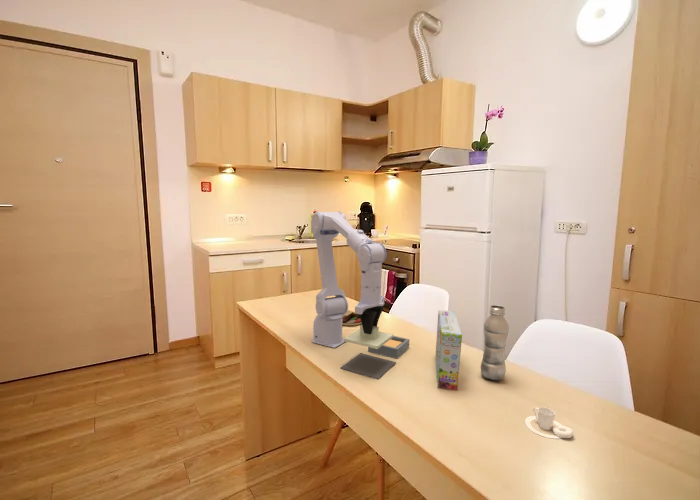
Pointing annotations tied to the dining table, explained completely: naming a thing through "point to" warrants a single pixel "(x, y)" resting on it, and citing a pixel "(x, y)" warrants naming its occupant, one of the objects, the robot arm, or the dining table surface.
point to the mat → (368, 365)
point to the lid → (369, 338)
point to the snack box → (448, 350)
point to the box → (392, 347)
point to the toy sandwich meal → (351, 319)
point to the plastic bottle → (495, 344)
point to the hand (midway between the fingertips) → (369, 332)
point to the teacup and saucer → (548, 424)
